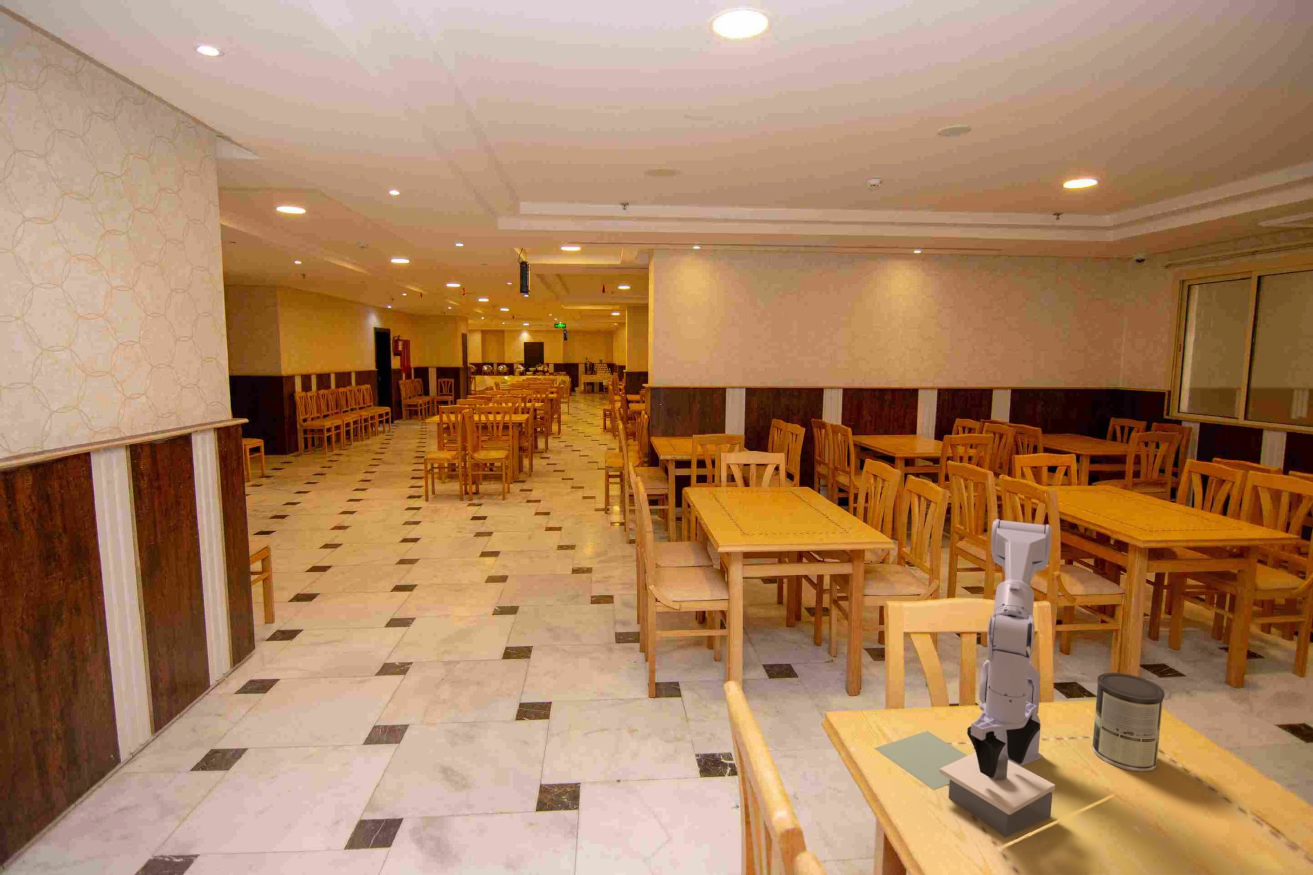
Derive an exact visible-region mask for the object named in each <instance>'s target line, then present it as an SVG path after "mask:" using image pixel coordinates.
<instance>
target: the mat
mask: <svg viewBox="0 0 1313 875" xmlns="http://www.w3.org/2000/svg"><path fill="white" fill-rule="evenodd" d="M874 750H876V751H877V752H878V753H880V754H881V755H882V756H884V757H886V758H887V759H889V760H890V761H892V762H893V763H894V764H895V765H897V766H899V767H900V768H901V769H903V770H904V771H906V772H907V773H909V774H910V775H912V776H913V777H914V778H916V779H917V780H919V781H920V782H922V783H923V784H924V785H926V786H927V787H929V788H930V789H931V790H933V791H935V790H937V789H940V788H943V787H945V786H948V785H949V782H950V779H949V778H947V777H945V776H944V775H942V774H940V768H942V767H944V766H947V765H949V764H951V763H953V762H955V761H957V760H959V759H962V758H964V757H966V756H968V755H969V754H966V753H964V752H963V751H961V750H959V749H958V748H956V747H955V746H953V745H951V744H950V743H948V742H946V740H945V741H944V740H943V739H942V738H940V737H938V736H936V735H935V734H933V733H932V732H930V731H929V730H926V731H923V732H920V733H917V734H914V735H911V736H908V737H905V738H901V739H899V740H895V741H892V742H889V743H886V744H883V745H880V746H877V747H875V748H874Z"/></svg>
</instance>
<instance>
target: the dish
mask: <svg viewBox="0 0 1313 875" xmlns="http://www.w3.org/2000/svg"><path fill="white" fill-rule="evenodd" d="M948 785H949V786H948V799H950V800H951V801H953V802H954V803H955V804H957V805H958V806H960V807H961V808H962V809H964V810H965V811H967V812H968V813H969V814H971V815H973V816H974V817H976V818H977V819H978V820H980V822H982V823H984V824H986V825H987V826H989V827H990V828H991V829H992V830H995V832H997V833H998V834H1000V835H1002V836H1003V837H1005V838H1008V837H1010V836H1013V835H1015V834H1017V833H1019V832H1021V831H1024V830H1025V829H1026V830H1027V829H1028V828H1030V827H1032V826H1035V825H1037V824H1040V823H1041V822H1044V821H1046V820H1048V819H1049V818H1051V815H1052V804H1053V792H1052V791H1051V792H1049V793H1048V794H1046V795H1044V796H1042V797H1041V798H1039V799H1037V800H1035V801H1033V802H1032V803H1030V804H1028V805H1026V806H1025V807H1023V808H1021V809H1019V810H1018V811H1016V812H1014V813H1012V814H1010V815H1009V814H1007V813H1005V812H1004V811H1002V810H1000V809H999V808H997V807H995V806H994V805H992V804H990V803H989V802H987V801H985V800H984V799H982V798H980V797H979V796H977V795H975V794H974V793H972V792H970V791H969V790H967V789H965V788H964V787H962V786H960V785H959V784H957V783H955V782H954V781H952V780H950V782H949V784H948Z"/></svg>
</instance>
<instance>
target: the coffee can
mask: <svg viewBox="0 0 1313 875" xmlns="http://www.w3.org/2000/svg"><path fill="white" fill-rule="evenodd" d="M1096 682H1097V687H1096V688H1097V689H1096V701H1095V714H1094V725H1093V726H1094V727H1093V728H1094V729H1093V736H1092V737H1093V738H1092V745H1091V749H1092V751H1093V753H1094V754H1095V755H1096V756H1097V757H1098V758H1099V759H1100V760H1102V761H1104V762H1106V763H1108V764H1110V765H1112V766H1115V767H1117V768H1120V769H1122V770H1127V771H1132V772H1142V773H1143V772H1144V773H1145V772H1150V771H1151V772H1152V771H1154V770H1155V769H1156V768H1157V767H1158V754H1159V742H1160V734H1161V733H1160V732H1161V724H1162V712H1163V701H1164V699H1165V695H1166V694H1165V691H1164V689H1163V688H1162V687H1161V686H1160V685H1158V684H1156V682H1155V683H1154V682H1152V681H1150V680H1148V679H1145V678H1143V677H1140V676H1136V675H1132V674H1128V673H1121V672H1104V673H1101V674H1099V675H1098V676H1097V681H1096Z"/></svg>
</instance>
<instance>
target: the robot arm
mask: <svg viewBox="0 0 1313 875" xmlns="http://www.w3.org/2000/svg"><path fill="white" fill-rule="evenodd" d="M992 522H993V523H992V528H991V539H990V550H991V556H992V558H993V563H995V564H997V565H998V566H1000V567H1002V568H1003V571H1004V575H1005V576H1004V577H1005V578H1004V580H1003V581H1002V582H1000V583H999V584H998V585H997V587H996V592H995V598H994V606H993V612H992V615H991V616H989V620H988V624H987V633H986V634H987V636H986V641H987V642H986V644H987V652H988V653H987V659H986V660H985V661H984V663H983V664H982V669H981V670H982V671H981V674H980V679H979V680H980V683H979V691H978V692H979V693H978V695H979V696H978V698H979V699H978V700H979V701H980V703H981V704H980V705H979V709H980V710H981V711H982V712H981V713H980V715H979V716H978V718H977V719H976V720H975V721H974V722H972V723H971V725H970V726H968V727H967V729H966V730H967V732H966V733H967V736H968V738H969V740H970V741H971V743H972V748H973V750H974V752H976V755H977V759H978V764H979V769H980V772H981V773H983V774H984V775H986V776H988V777H990V778H993V777H994V775H995V773H996V768H997V762H998V758H999V755H1000V753H1003V754H1005V755H1006V756H1007V757H1008V760H1009V761H1011V762H1013V763H1015V764H1017V765H1019V766H1021V767H1022V766H1024V765H1027V764H1030V763H1033V762H1035V761H1037V760H1040V759H1043V758H1044V756H1043V754H1041V753H1040V752H1039V751H1040V736H1041V719H1040V718H1039V715H1038V714H1039V710H1040V709H1039V708H1040V707H1039V706H1040V698H1041V697H1040V695H1041V675H1040V673H1039V671H1038V669H1037V668H1035V667H1034V666H1033V665H1032V664H1031V663H1030V657H1032V655H1033V652H1034V643H1035V642H1034V641H1035V629H1036V628H1035V627H1036V626H1035V621H1034V604H1035V603H1034V602H1035V601H1034V600H1035V592H1034V590H1033V589H1032V587H1031V583H1032V580H1033V578H1034V576H1035V574H1036V572H1039V571H1044V570H1046V569H1047V566H1048V565H1049V561H1050V560H1049V559H1050V556H1051V551H1052V550H1051V549H1052V538H1053V537H1052V533H1053V527H1052V526H1050V524H1039V523H1038V524H1037V523H1028V522H1020V521H1019V522H1018V521H1010V520H1003V519H1001V520H1000V518H999V519H998V518H996V519H995V520H994V521H992ZM1027 648H1029V650H1030V652H1028V650H1027Z"/></svg>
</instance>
